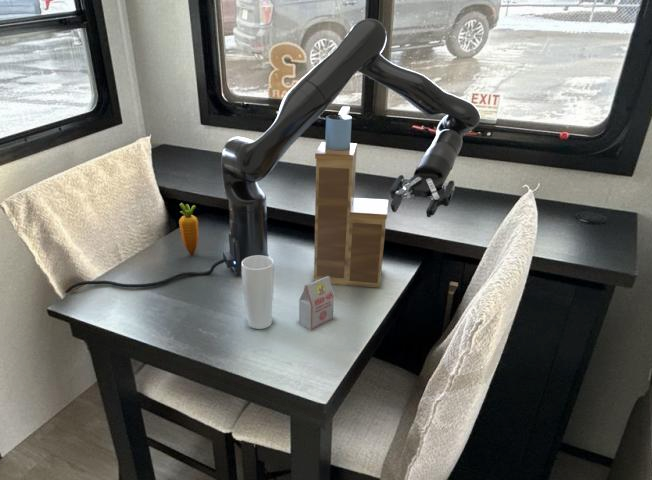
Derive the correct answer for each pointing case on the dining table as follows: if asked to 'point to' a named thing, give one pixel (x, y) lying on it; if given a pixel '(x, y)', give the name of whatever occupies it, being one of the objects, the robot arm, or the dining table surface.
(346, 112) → the pale blue saucepan
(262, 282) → the drinking glass
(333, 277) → the step stand
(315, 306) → the milk carton
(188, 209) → the carrot
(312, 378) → the dining table surface
